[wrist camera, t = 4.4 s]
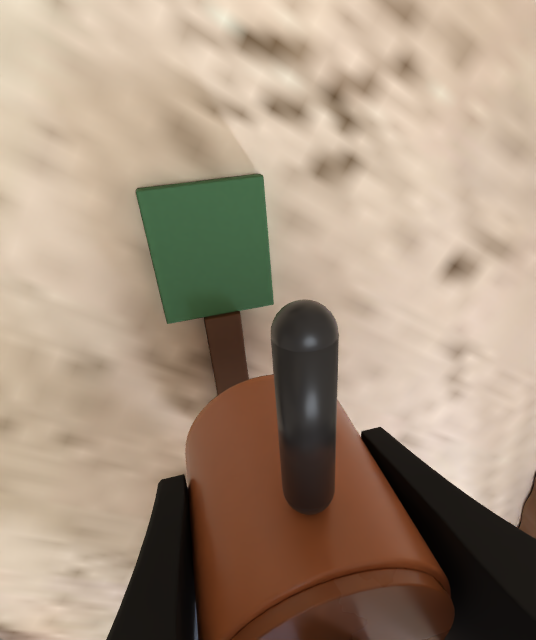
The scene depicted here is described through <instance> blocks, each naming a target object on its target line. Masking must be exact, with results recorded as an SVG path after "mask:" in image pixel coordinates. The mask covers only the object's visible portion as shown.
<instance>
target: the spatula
mask: <svg viewBox="0 0 536 640" xmlns="http://www.w3.org/2000/svg"><path fill="white" fill-rule="evenodd" d="M136 195H137V199H138V204H139V208H140V212H141V216H142V220H143V225H144V229H145V233H146V237H147V241H148V246H149V250H150V254H151V258H152V262H153V267H154V271H155V275H156V279H157V283H158V288H159V292H160V296H161V300H162V304H163V309H164V313H165V317H166V321H167V324H169V323H175V322H180V321H186V320H191V319H197V318H202V317H204V322H205V327H206V333H207V338H208V344H209V349H210V355H211V360H212V365H213V371H214V376H215V382H216V387H217V393H218V395H219V394H221V393H222V392H224V391H225V390H227V389H229V388H230V387H232V386H234V385H237V384H239V383H241V382H244V381H246V380H249V378H248V370H247V362H246V355H245V347H244V339H243V332H242V324H241V316H240V312H239V311H241V310H246V309H252V308H257V307H263V306H268V305H273V304H274V302H273V290H272V278H271V265H270V253H269V240H268V228H267V216H266V203H265V191H264V179H263V175H261V174H253V175H244V176H236V177H228V178H220V179H211V180H203V181H195V182H187V183H178V184H170V185H162V186H154V187H146V188H138V189H137V190H136Z"/></svg>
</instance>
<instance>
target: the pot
mask: <svg viewBox="0 0 536 640" xmlns="http://www.w3.org/2000/svg"><path fill="white" fill-rule="evenodd" d="M338 338H339V333H338V326H337V322H336V319H335V318H334V316H333V315H332V313H331V312H330V311H329V310H328V309H327V308H326V307H325V306H323V305H322V304H320V303H318V302H316V301H312V300H298V301H294V302H291V303H289V304H287V305H286V306H284V307H283V308H282V309H281V310H280V311H279V312H278V313H277V314H276V316H275V318H274V320H273V323H272V326H271V345H272V358H273V372H274V374H272V375H265V376H260V377H256V378H252V379H249V380H246V381H244V382H241V383H239V384H237V385H234V386H232V387H230V388H229V389H227V390H225V391H224V392H222V393H221V394H219V395H218V396H217V397H215V398H214V399H213V400H212V401H210V402H209V403H208V404H207V405H206V406H205V407H204V408H203V409H202V411H201V412H200V413H199V415H198V416H197V417H196V419H195V421H194V422H193V424H192V426H191V428H190V431H189V433H188V436H187V440H186V448H185V456H186V470H187V485H188V497H189V512H190V528H191V543H192V557H193V572H194V586H195V601H196V615H197V629H198V640H444V639H445V638H446V636H447V634H448V633H449V631H450V629H451V627H452V624H453V621H454V616H455V610H454V605H453V602H452V600H451V588H450V584H449V581H448V578H447V576H446V575H445V573H444V572H443V570H442V568H441V567H440V565H439V563H438V562H437V560H436V559H435V557H434V555H433V554H432V552H431V550H430V549H429V547H428V546H427V544H426V542H425V541H424V539H423V537H422V536H421V534H420V533H419V531H418V529H417V528H416V526H415V524H414V523H413V521H412V520H411V518H410V516H409V515H408V513H407V511H406V510H405V508H404V507H403V505H402V503H401V502H400V500H399V498H398V497H397V495H396V494H395V492H394V490H393V489H392V487H391V486H390V484H389V482H388V481H387V479H386V477H385V476H384V474H383V473H382V471H381V469H380V468H379V466H378V464H377V463H376V461H375V460H374V458H373V456H372V455H371V453H370V451H369V450H368V448H367V447H366V445H365V443H364V442H363V440H362V438H361V437H360V435H359V434H358V432H357V430H356V429H355V427H354V425H353V424H352V422H351V421H350V419H349V417H348V416H347V414H346V412H345V411H344V409H343V408H342V406H341V404H340V403H339V401H338V400H337V380H338Z"/></svg>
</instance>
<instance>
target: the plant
mask: <svg viewBox="0 0 536 640" xmlns="http://www.w3.org/2000/svg"><path fill="white" fill-rule="evenodd" d="M519 529H520V530H522V531H524V532H525V533H527V534H529V535H530V536H532V537H534V538H535V539H536V477H535V481H534V487H533V490H532V492H531V494H530V496H529V498H528V499H527V501H526V503H525V505H524V508H523V513H522V522H521V525H520V527H519Z"/></svg>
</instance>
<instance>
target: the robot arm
mask: <svg viewBox="0 0 536 640" xmlns="http://www.w3.org/2000/svg"><path fill="white" fill-rule="evenodd" d="M361 438H362V440H363V442H364V443H365V445H366V447H367V448H368V450H369V451H370V453H371V455H372V456H373V458H374V460H375V461H376V463H377V464H378V466H379V468H380V469H381V471H382V473H383V474H384V476H385V477H386V479H387V481H388V482H389V484H390V486H391V487H392V489H393V490H394V492H395V494H396V495H397V497H398V498H399V500H400V502H401V503H402V505H403V507H404V508H405V510H406V511H407V513H408V515H409V516H410V518H411V520H412V521H413V523H414V524H415V526H416V528H417V529H418V531H419V533H420V534H421V536H422V537H423V539H424V541H425V542H426V544H427V546H428V547H429V549H430V550H431V552H432V554H433V555H434V557H435V559H436V560H437V562H438V563H439V565H440V567H441V568H442V570H443V572H444V573H445V575H446V576H447V578H448V581H449V584H450V588H451V600H452V602H453V605H454V610H455V616H454V621H453V624H452V627H451V629H450V631H449V633H448V634H447V636H446V638H445V639H444V640H536V539H535V538H534V537H532V536H530V535H529V534H527V533H525V532H524V531H522V530H520V529H519V528H517V527H515V526H514V525H512V524H510V523H509V522H507V521H506V520H504V519H502V518H501V517H499V516H498V515H496V514H495V513H493V512H492V511H490V510H489V509H487V508H486V507H484V506H483V505H481V504H480V503H478V502H477V501H476V500H474V499H473V498H471V497H470V496H468V495H467V494H465V493H464V492H463V491H461V490H460V489H459V488H457V487H456V486H454V485H453V484H452V483H450V482H449V481H448V480H446V479H445V478H444V477H443V476H441V475H440V474H439V473H437V472H436V471H435V470H433V469H432V468H431V467H429V466H428V465H427V464H426V463H424V462H423V461H422V460H421V459H419V458H418V457H417V456H416V455H414V454H413V453H412V452H411V451H409V450H408V449H407V448H406V447H405V446H403V445H402V444H401V443H400V442H398V441H397V440H396V439H395V438H394V437H392V436H391V435H390V434H389V433H388V432H386V431H385V430H384V429H383V428H381V427H378V428H374V429H370V430H365V431H362V432H361ZM106 640H198V629H197V615H196V601H195V586H194V572H193V557H192V543H191V528H190V512H189V497H188V487H187V483H186V479H185V476H184V474H183V475H179V476H175V477H171V478H166V479H162V480H161V481H160V482H159V483H158V488H157V493H156V498H155V502H154V506H153V510H152V514H151V518H150V521H149V525H148V528H147V532H146V535H145V538H144V541H143V544H142V547H141V551H140V554H139V557H138V560H137V563H136V566H135V569H134V571H133V574H132V577H131V579H130V582H129V585H128V587H127V590H126V592H125V595H124V598H123V600H122V603H121V606H120V608H119V611H118V613H117V616H116V618H115V620H114V623H113V625H112V628H111V630H110V632H109V634H108V637H107V639H106Z"/></svg>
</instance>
